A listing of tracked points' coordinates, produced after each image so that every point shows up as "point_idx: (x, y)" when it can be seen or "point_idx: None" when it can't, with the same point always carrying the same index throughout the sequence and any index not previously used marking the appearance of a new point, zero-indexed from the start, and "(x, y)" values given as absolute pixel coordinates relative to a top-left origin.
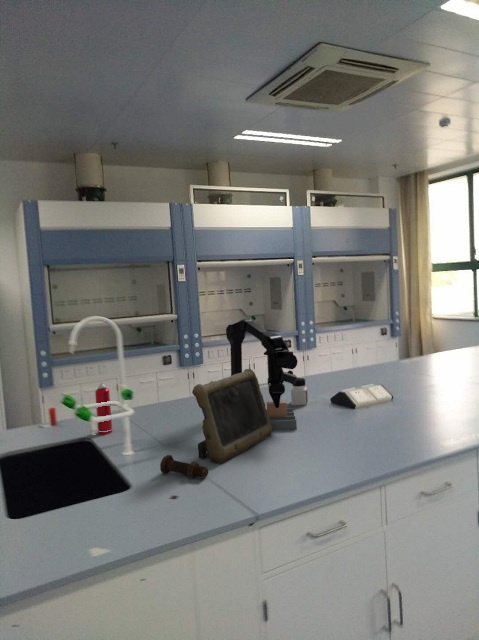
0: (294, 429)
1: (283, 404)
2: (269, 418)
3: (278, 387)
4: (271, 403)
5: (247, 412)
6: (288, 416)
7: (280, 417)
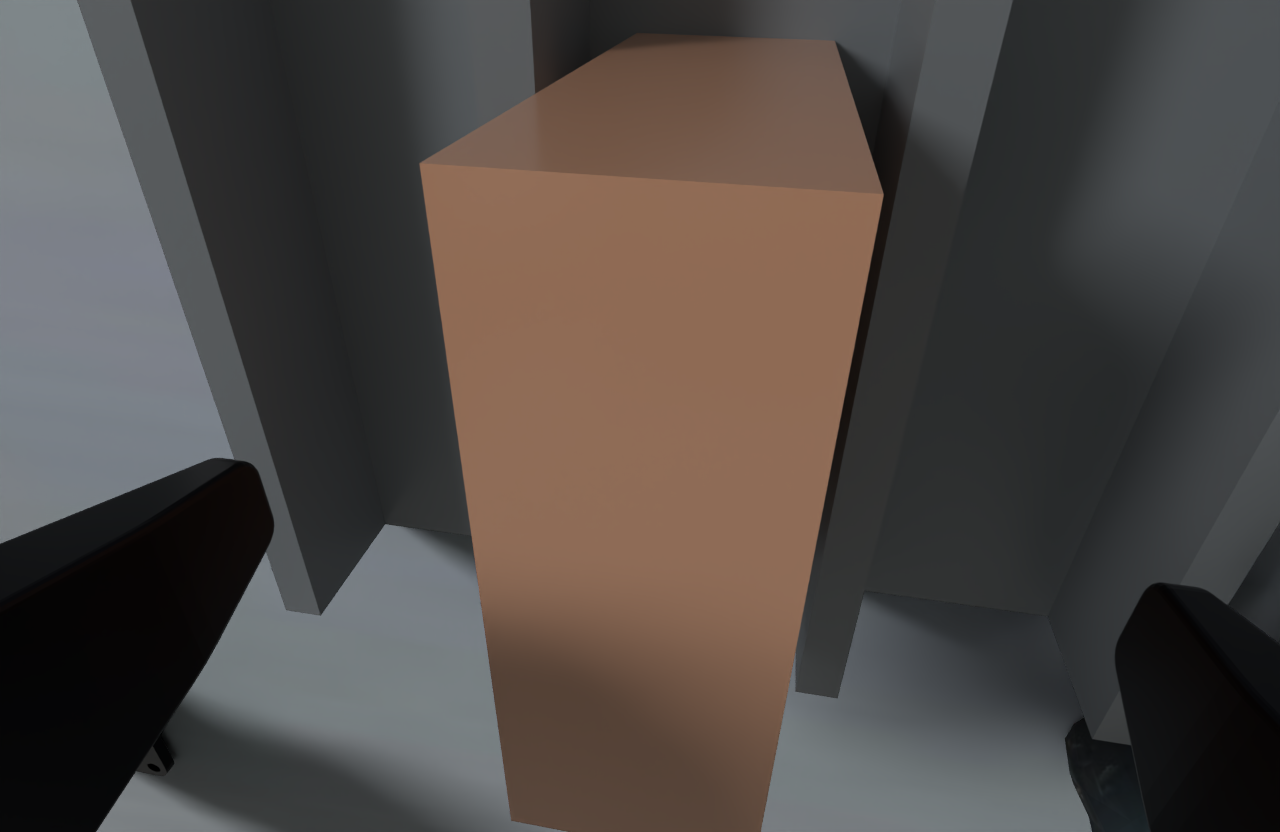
0: None
1: (848, 350)
2: (869, 532)
3: None
4: (722, 764)
5: None
6: (995, 43)
7: (930, 300)
